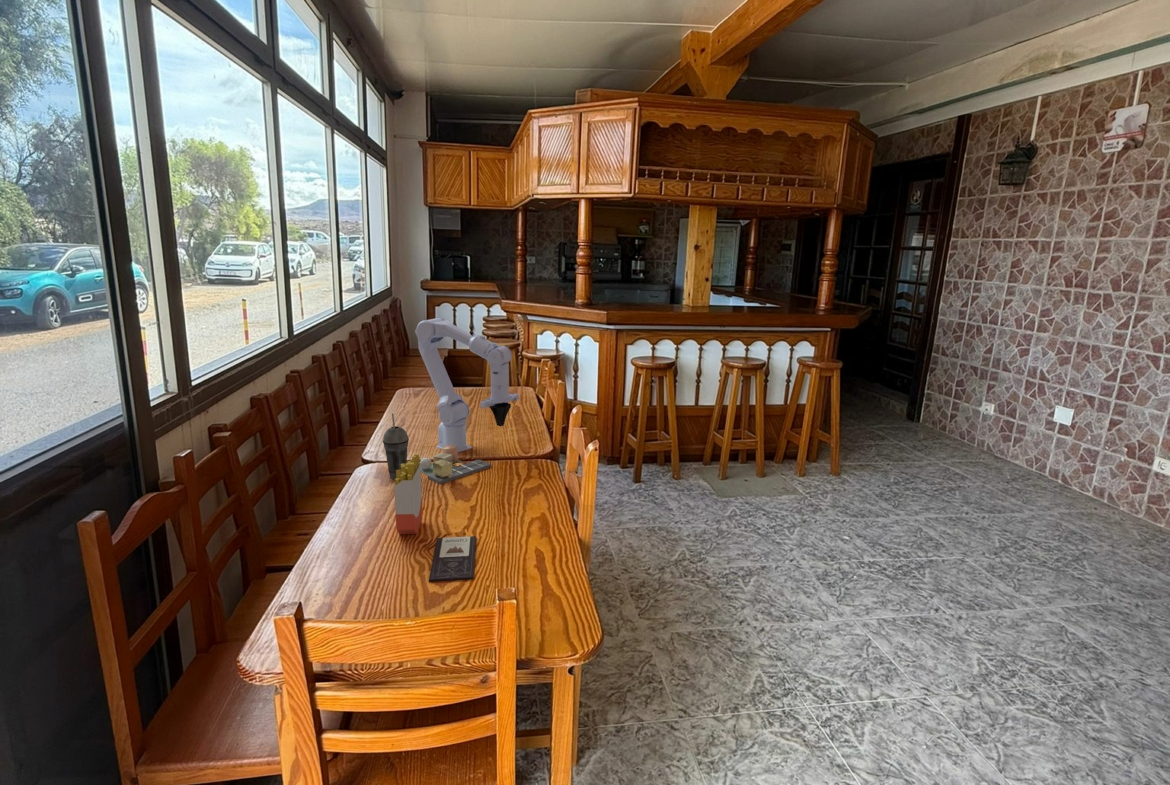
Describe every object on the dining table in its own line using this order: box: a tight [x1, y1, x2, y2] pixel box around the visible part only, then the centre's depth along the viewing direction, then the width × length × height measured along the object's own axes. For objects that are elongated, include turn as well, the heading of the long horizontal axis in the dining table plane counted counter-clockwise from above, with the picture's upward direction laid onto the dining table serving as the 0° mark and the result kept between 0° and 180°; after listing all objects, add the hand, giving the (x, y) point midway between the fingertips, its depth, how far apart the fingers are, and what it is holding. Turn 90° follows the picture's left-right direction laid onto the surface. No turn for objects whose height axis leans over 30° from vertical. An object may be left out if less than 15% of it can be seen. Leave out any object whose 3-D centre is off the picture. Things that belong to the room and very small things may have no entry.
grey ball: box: [419, 457, 433, 470], centre depth 182 cm, size 4×4×4 cm
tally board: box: [427, 459, 492, 485], centre depth 181 cm, size 6×19×1 cm, turn 139°
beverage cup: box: [382, 412, 410, 481], centre depth 174 cm, size 7×7×20 cm
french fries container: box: [394, 453, 423, 535], centre depth 144 cm, size 5×11×18 cm, turn 5°
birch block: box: [433, 452, 453, 467], centre depth 184 cm, size 4×4×4 cm
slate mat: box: [420, 459, 465, 476], centre depth 185 cm, size 8×14×1 cm, turn 139°
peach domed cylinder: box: [442, 445, 459, 464], centre depth 188 cm, size 4×4×5 cm
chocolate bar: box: [428, 535, 477, 583], centre depth 133 cm, size 9×1×18 cm
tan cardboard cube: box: [432, 459, 452, 477], centre depth 175 cm, size 4×4×4 cm
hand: (500, 425), depth 194 cm, fingers closed
